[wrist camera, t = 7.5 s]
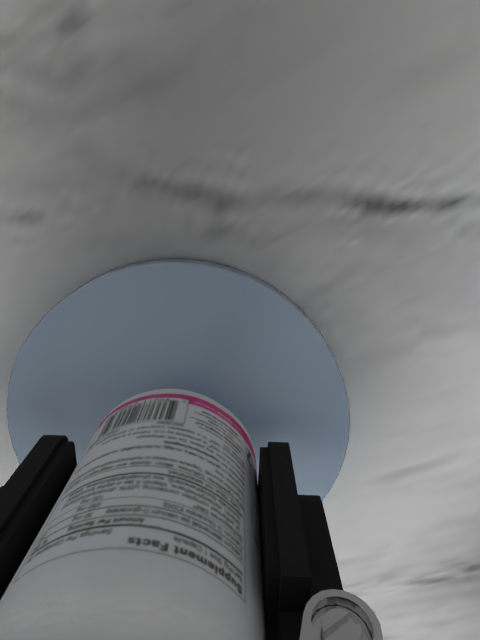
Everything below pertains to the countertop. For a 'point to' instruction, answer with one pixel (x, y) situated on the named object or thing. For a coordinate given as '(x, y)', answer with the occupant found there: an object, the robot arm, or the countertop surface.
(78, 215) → the countertop surface
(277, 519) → the robot arm
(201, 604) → the pill bottle
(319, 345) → the saucer
